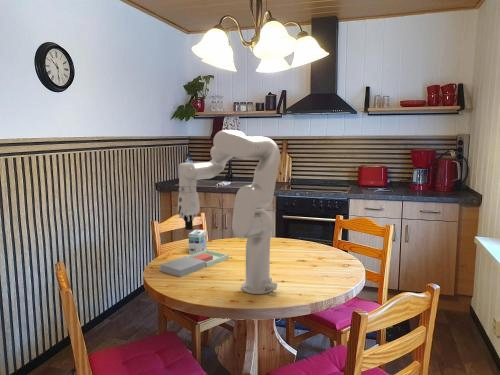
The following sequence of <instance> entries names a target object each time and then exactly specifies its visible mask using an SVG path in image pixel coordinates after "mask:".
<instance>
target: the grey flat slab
mask: <svg viewBox="0 0 500 375" xmlns="http://www.w3.org/2000/svg"><path fill="white" fill-rule="evenodd" d="M187 256H188V255H185V256H183V257H179V258H175V259H173V260H170V261H167V262H164V263H161V264H160V265H159V267H160V268H159V269H160V270H159V271H160V272H163V273H166V274H169V275H173V276H176V277H179V278H181V277H184V276H187V275H189V274H193V273H196V272H198V271H200V270H203V269H205V268H207V267H206V261H203V260H199V259H195V258H191V257H187Z"/></svg>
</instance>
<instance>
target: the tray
mask: <svg viewBox="0 0 500 375" xmlns="http://www.w3.org/2000/svg"><path fill="white" fill-rule="evenodd" d="M203 253H204V254H209V255H213V260H211V261H208V262H206V268H209V267H212V266H214V265H216V264H218V263H219V264H220V263H221V262H224V261H228V260H229V258H230V256H229V254H228V253H223V252H218V251H214V250H209V249H207V250H204V251H201V252H198V253H195V254H190V255H186V256H187V257H191V258H192V257H195V256H197V255H200V254H203Z"/></svg>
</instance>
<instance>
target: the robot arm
mask: <svg viewBox="0 0 500 375" xmlns="http://www.w3.org/2000/svg"><path fill="white" fill-rule="evenodd" d="M212 141H213V146H212V147H211V148H210V150H209V152H210V157H211V160H209V161H204V162H202V161H201V162H200V161H199V162H181V163H179V165H178V180H179V181H178V182H179V185H178V186H179V188H178V191H179V193H178V197H177V198H178V199H177V214H178V216H179V219H182V220H183V221H184V224H185V225H184V229H185V230H186V231H187V230H188V231H191V230H192V231H193V227H194V226H193V225H194V224H193V221H194V220H195V217H196V216H198V214H199V213H200V210H201V209H200V208H201V205H200V198H199V194H198V192H197V181H198V180H199V181H200V180H209V179H212V178H215V177H216V176H218V175H219V174H221V173H222V172H223V171H224V169H225V167H226V164H227V162H229V161H230V160H231V159H233V158H236V159H240V160H244V161H245V160H259V162H258V163H257V165H256V167H255V168H254V173H253V180H252V183H251V184H247V185H243V186H242V187H240V188H239V189H238V191H237V192H236V195H235V197H234V204H233V213H232V220H231V227H232V232H233V234H234V235H235V237H237V238H238V239H243V240H245V239H246V242H245V243H246V244H245V282H243V283H242V284H241V290H242V291H243V292H244V293H247V294H252V295H264V294H268V293H271V292H272V291H277V288H278V282H273V278H272V277H271V276H270V275H271V272H270V271H271V270H270V268H271V266H270V264H271V263H270V262H271V260H270V259H271V258H270V257H271V238H272V231H273V227H274V226H273V225H274V224H273V222H274V221H273V217H272V216H271V214H270V213H269V212H268V211H266V210H265V209H266V208H268V207H269V206H270V205H272V202H273V200H274V194H275V190H276V189H275V188H276V181H277V175H278V170H279V166H280V161H281V152H280V148H279V146H278V144H277V143H276V142H275V141H274V140H273V139H271V138H269V137H266V136H247V135H246V133H244V132H242V131H240V130H232V129H223V130H220V131H218V132H217V133H215V135H214V137H213V140H212ZM264 208H265V209H264Z"/></svg>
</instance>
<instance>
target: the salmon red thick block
mask: <svg viewBox="0 0 500 375" xmlns="http://www.w3.org/2000/svg"><path fill="white" fill-rule="evenodd" d="M192 258H195V259H199V260H203V261H206V262H208V261H211V260H213V255H209V254H204V253H203V254H200V255H197V256H195V257H192Z"/></svg>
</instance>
